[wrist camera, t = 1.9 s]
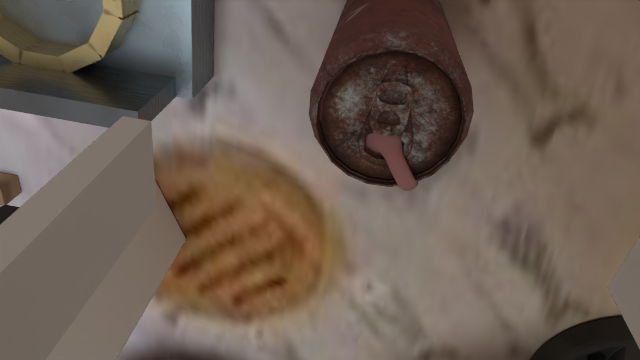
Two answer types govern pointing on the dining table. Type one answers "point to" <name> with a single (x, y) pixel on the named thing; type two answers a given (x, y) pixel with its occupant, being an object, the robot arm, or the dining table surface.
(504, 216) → the dining table surface
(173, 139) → the dining table surface
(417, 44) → the can
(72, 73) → the bolted ring bracket
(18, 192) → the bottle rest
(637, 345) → the robot arm
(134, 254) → the milk
